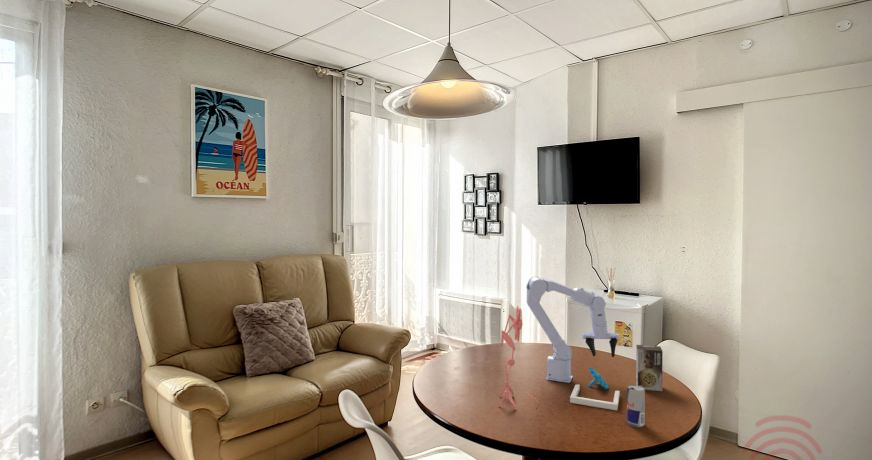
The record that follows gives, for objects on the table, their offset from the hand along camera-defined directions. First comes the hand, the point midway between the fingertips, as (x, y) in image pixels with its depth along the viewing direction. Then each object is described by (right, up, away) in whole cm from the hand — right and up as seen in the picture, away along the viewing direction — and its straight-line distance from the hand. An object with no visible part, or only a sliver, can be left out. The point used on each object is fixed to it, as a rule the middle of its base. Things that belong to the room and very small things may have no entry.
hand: (603, 355), depth 189 cm
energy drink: (-4, -11, -40) cm, 42 cm away
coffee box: (+15, -10, -8) cm, 20 cm away
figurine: (-40, -11, -24) cm, 48 cm away
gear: (-5, -10, -8) cm, 14 cm away
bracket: (-11, -10, -20) cm, 25 cm away
